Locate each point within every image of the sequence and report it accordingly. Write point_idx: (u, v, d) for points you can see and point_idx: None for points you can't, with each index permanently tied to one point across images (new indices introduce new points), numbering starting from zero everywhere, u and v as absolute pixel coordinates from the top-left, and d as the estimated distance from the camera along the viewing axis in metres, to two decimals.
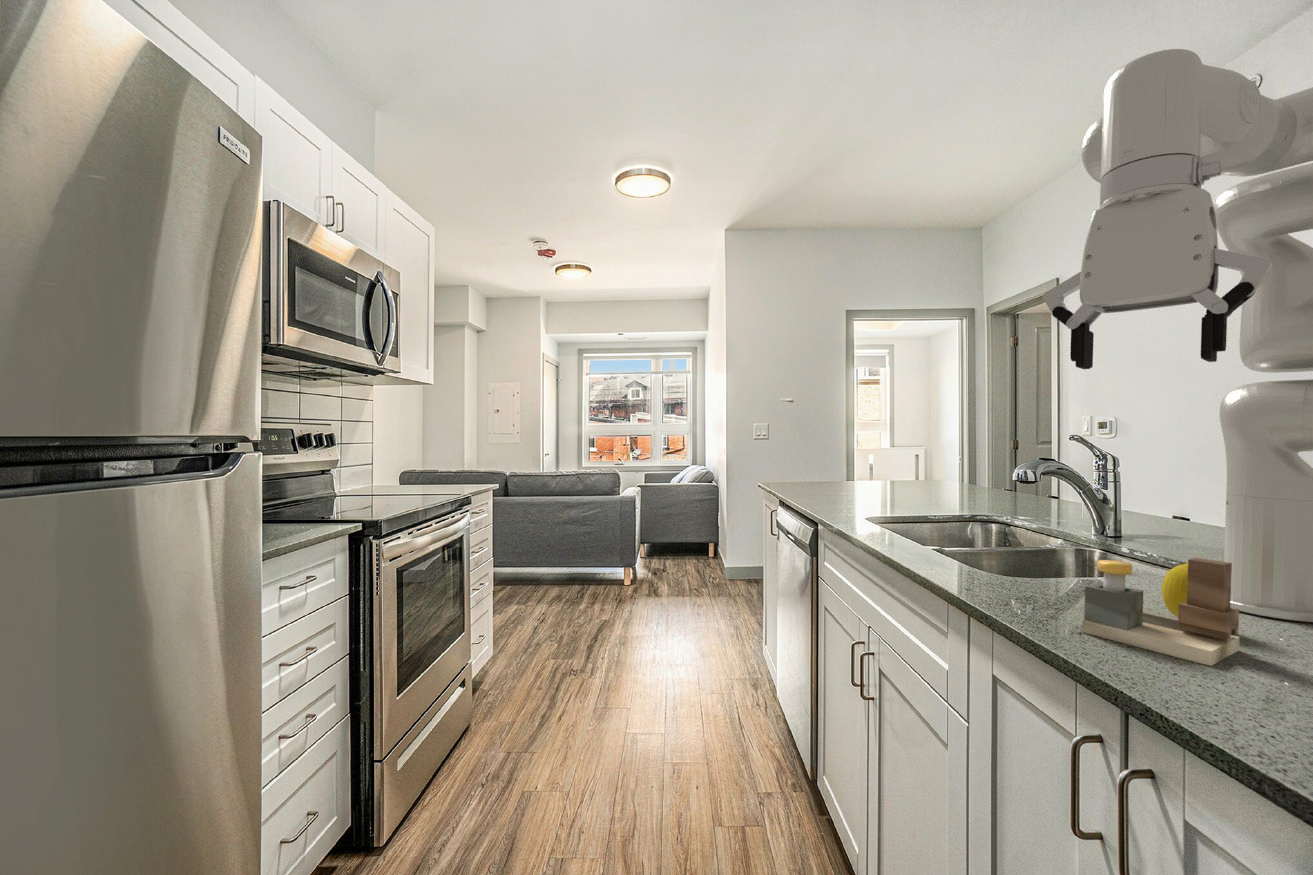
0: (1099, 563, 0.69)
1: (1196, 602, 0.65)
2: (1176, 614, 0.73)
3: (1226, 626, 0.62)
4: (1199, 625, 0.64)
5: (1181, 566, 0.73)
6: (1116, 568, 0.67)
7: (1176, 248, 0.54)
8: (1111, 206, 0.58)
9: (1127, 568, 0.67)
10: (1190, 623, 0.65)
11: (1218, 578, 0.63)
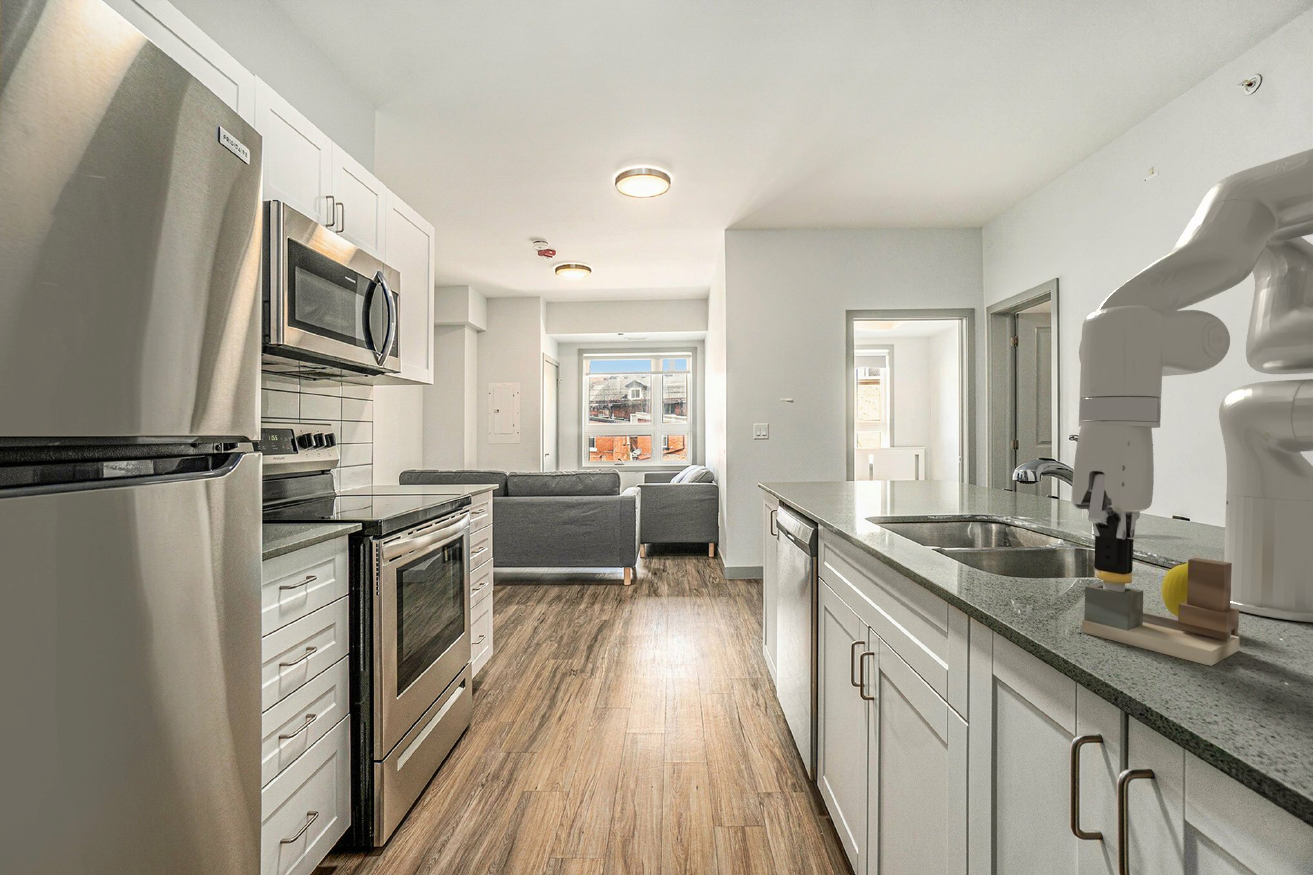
0: (1099, 571, 0.69)
1: (1196, 602, 0.65)
2: (1176, 614, 0.73)
3: (1226, 626, 0.62)
4: (1199, 625, 0.64)
5: (1181, 566, 0.73)
6: (1116, 576, 0.67)
7: (1149, 474, 0.68)
8: (1134, 426, 0.65)
9: (1127, 576, 0.67)
10: (1190, 623, 0.65)
11: (1218, 578, 0.63)
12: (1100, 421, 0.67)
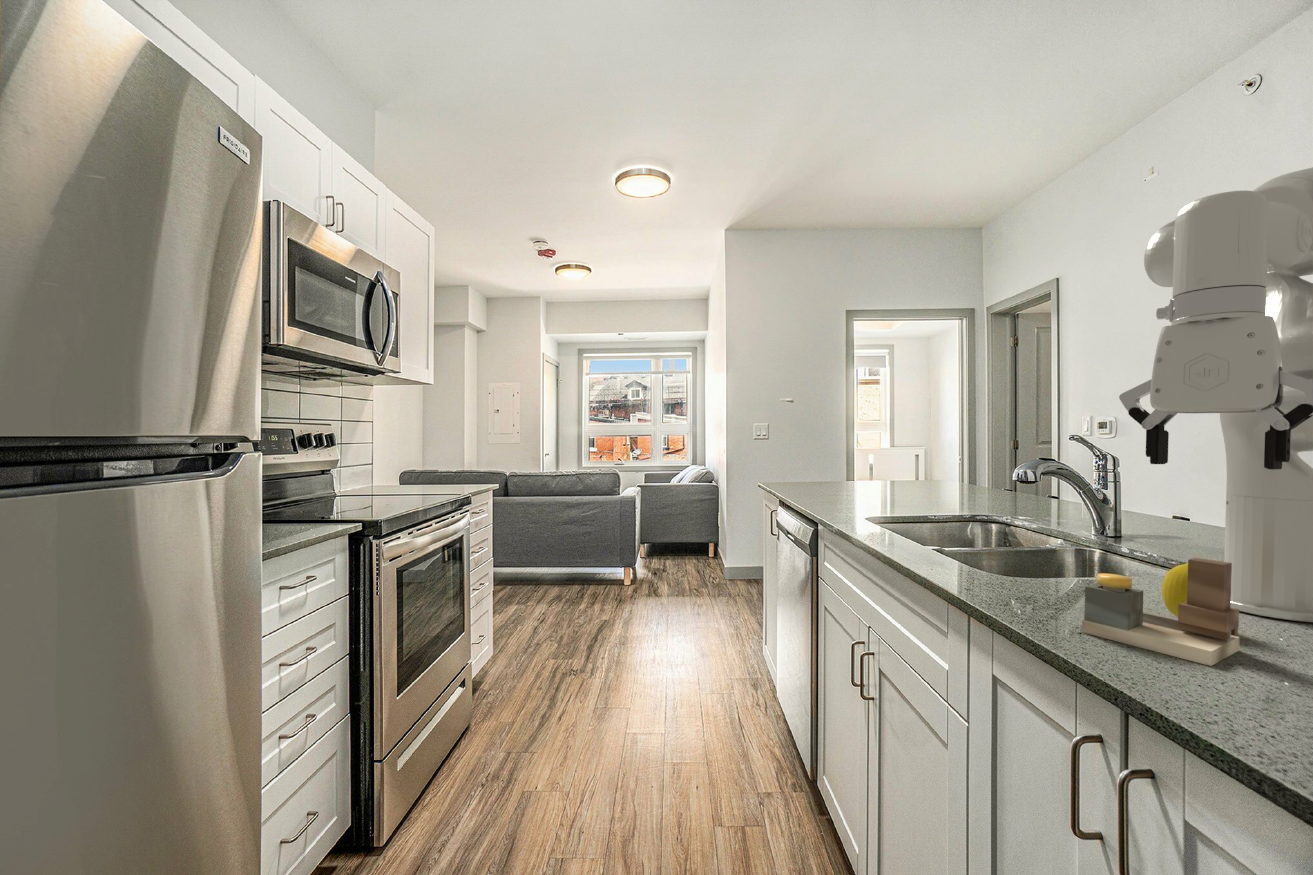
0: (1099, 577, 0.69)
1: (1196, 602, 0.65)
2: (1176, 614, 0.73)
3: (1226, 626, 0.62)
4: (1199, 625, 0.64)
5: (1181, 566, 0.73)
6: (1116, 582, 0.67)
7: None
8: None
9: (1127, 581, 0.67)
10: (1190, 623, 0.65)
11: (1218, 578, 0.63)
12: (1262, 313, 0.61)
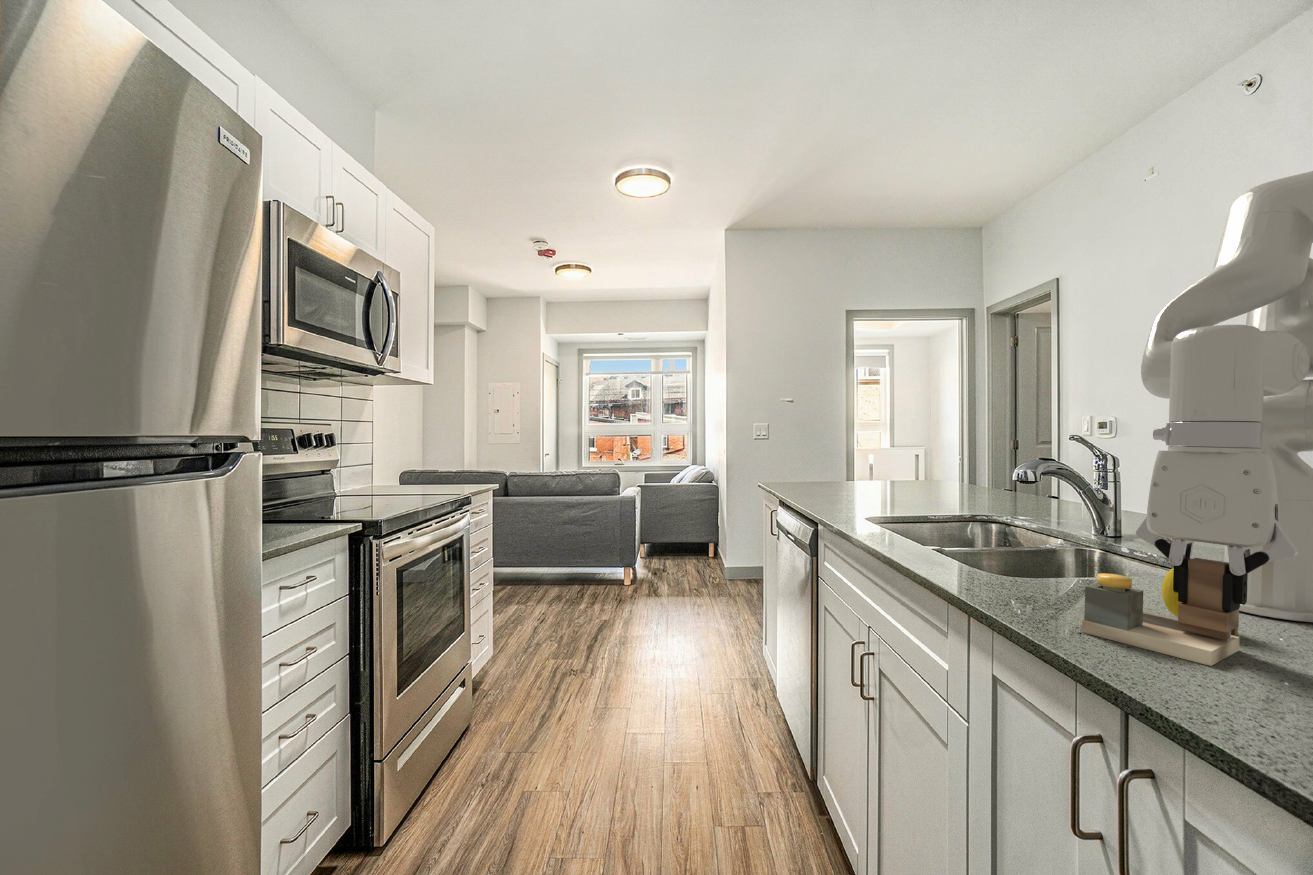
0: (1099, 577, 0.69)
1: (1196, 602, 0.65)
2: (1176, 614, 0.73)
3: (1226, 626, 0.62)
4: (1199, 625, 0.64)
5: None
6: (1116, 582, 0.67)
7: None
8: None
9: (1127, 581, 0.67)
10: (1190, 623, 0.65)
11: (1218, 578, 0.63)
12: (1258, 448, 0.62)
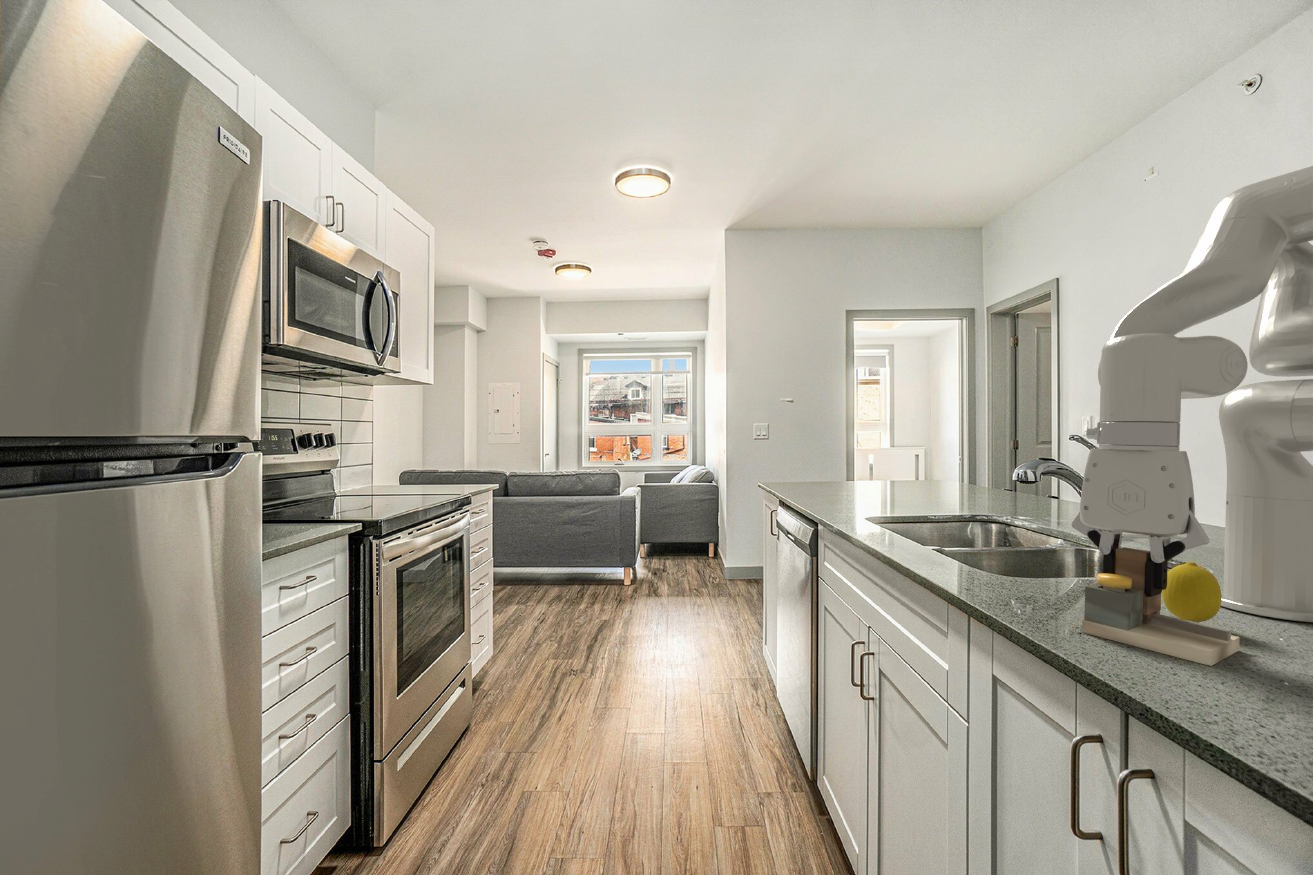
0: (1099, 577, 0.69)
1: None
2: (1176, 614, 0.73)
3: (1147, 609, 0.68)
4: None
5: (1181, 566, 0.73)
6: (1116, 582, 0.67)
7: None
8: None
9: (1127, 581, 0.67)
10: None
11: (1141, 565, 0.69)
12: (1176, 447, 0.67)
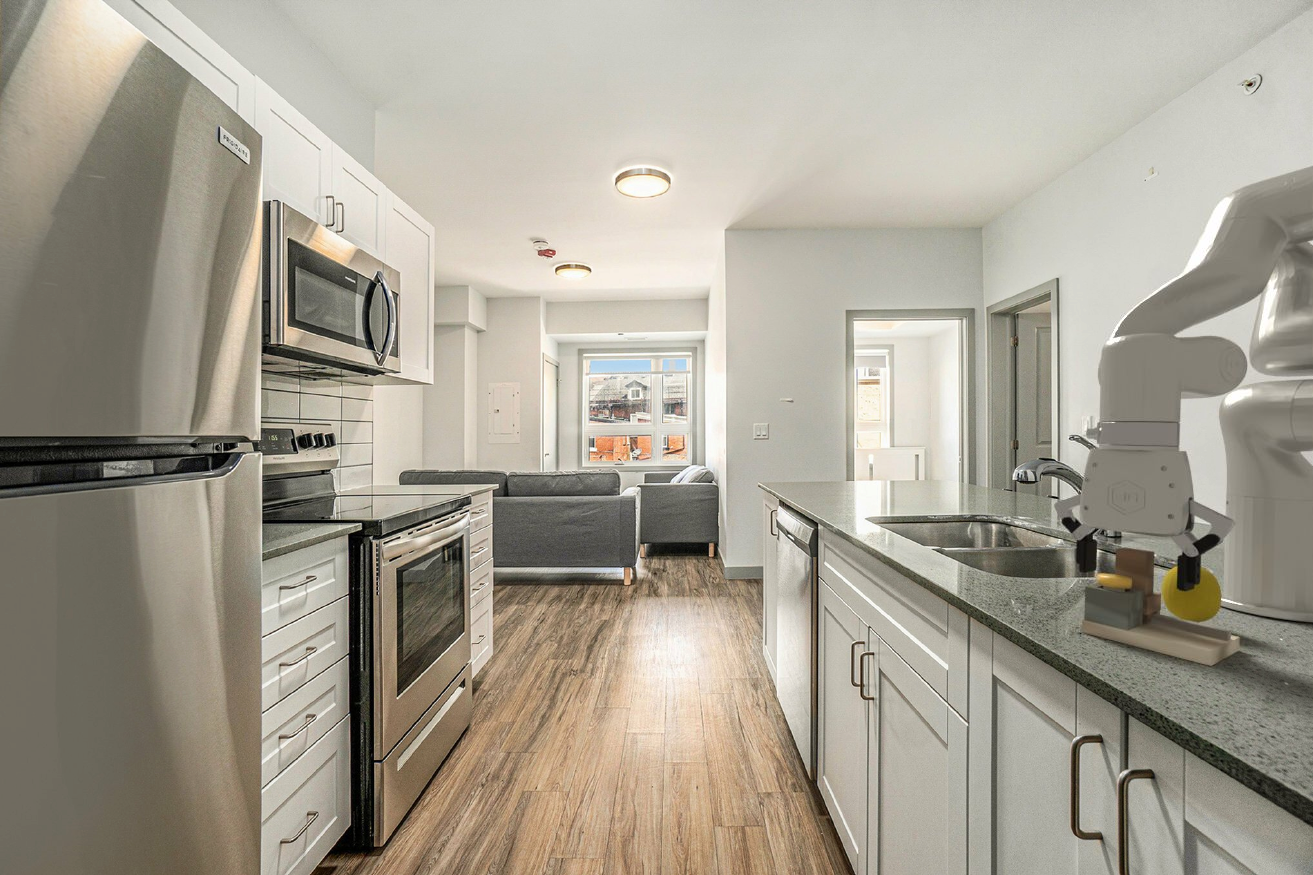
0: (1099, 577, 0.69)
1: None
2: (1176, 614, 0.73)
3: (1147, 609, 0.68)
4: None
5: None
6: (1116, 582, 0.67)
7: None
8: None
9: (1127, 581, 0.67)
10: None
11: (1141, 565, 0.69)
12: (1175, 446, 0.67)
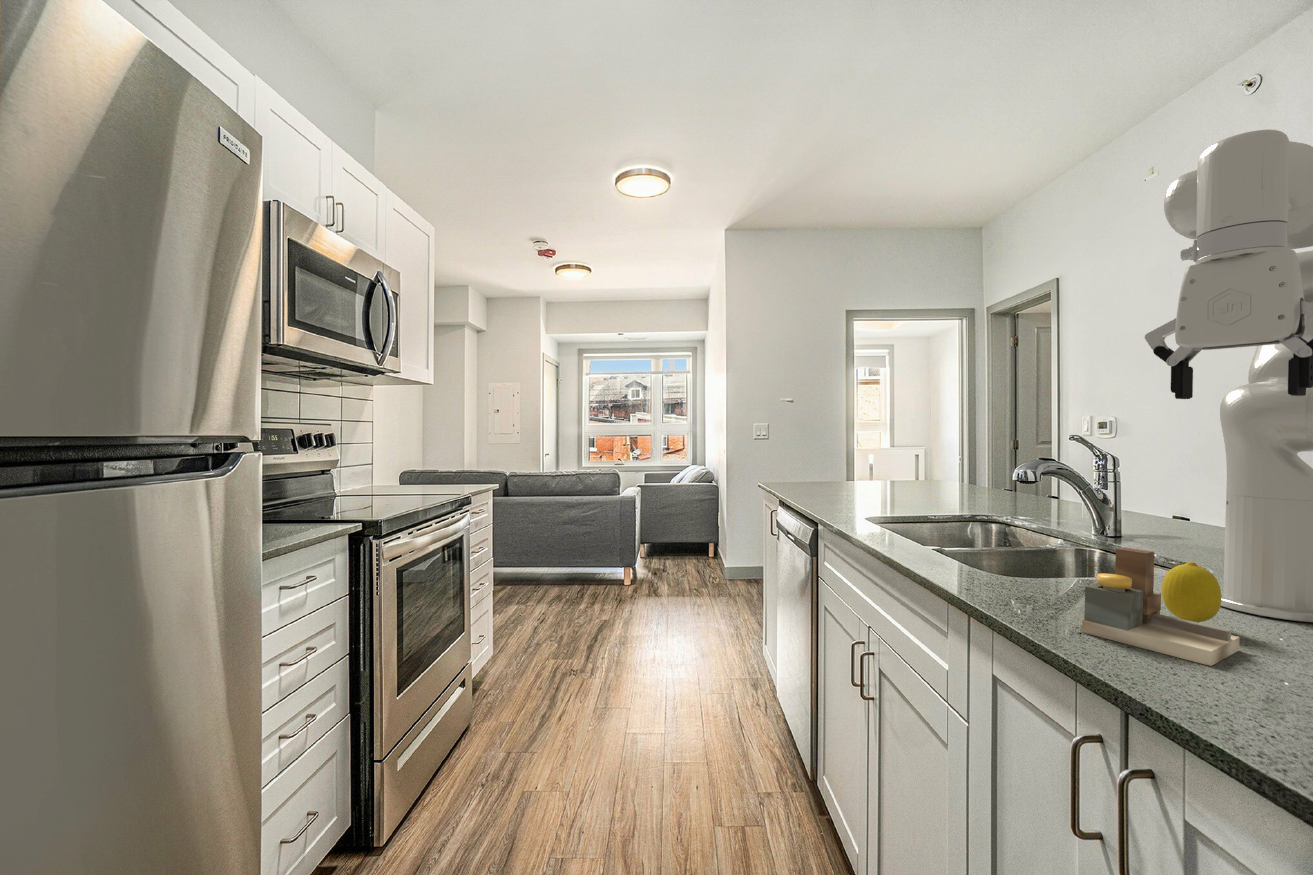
0: (1099, 577, 0.69)
1: None
2: (1176, 614, 0.73)
3: (1147, 609, 0.68)
4: None
5: (1181, 566, 0.73)
6: (1116, 582, 0.67)
7: None
8: None
9: (1127, 581, 0.67)
10: None
11: (1141, 565, 0.69)
12: (1284, 247, 0.64)
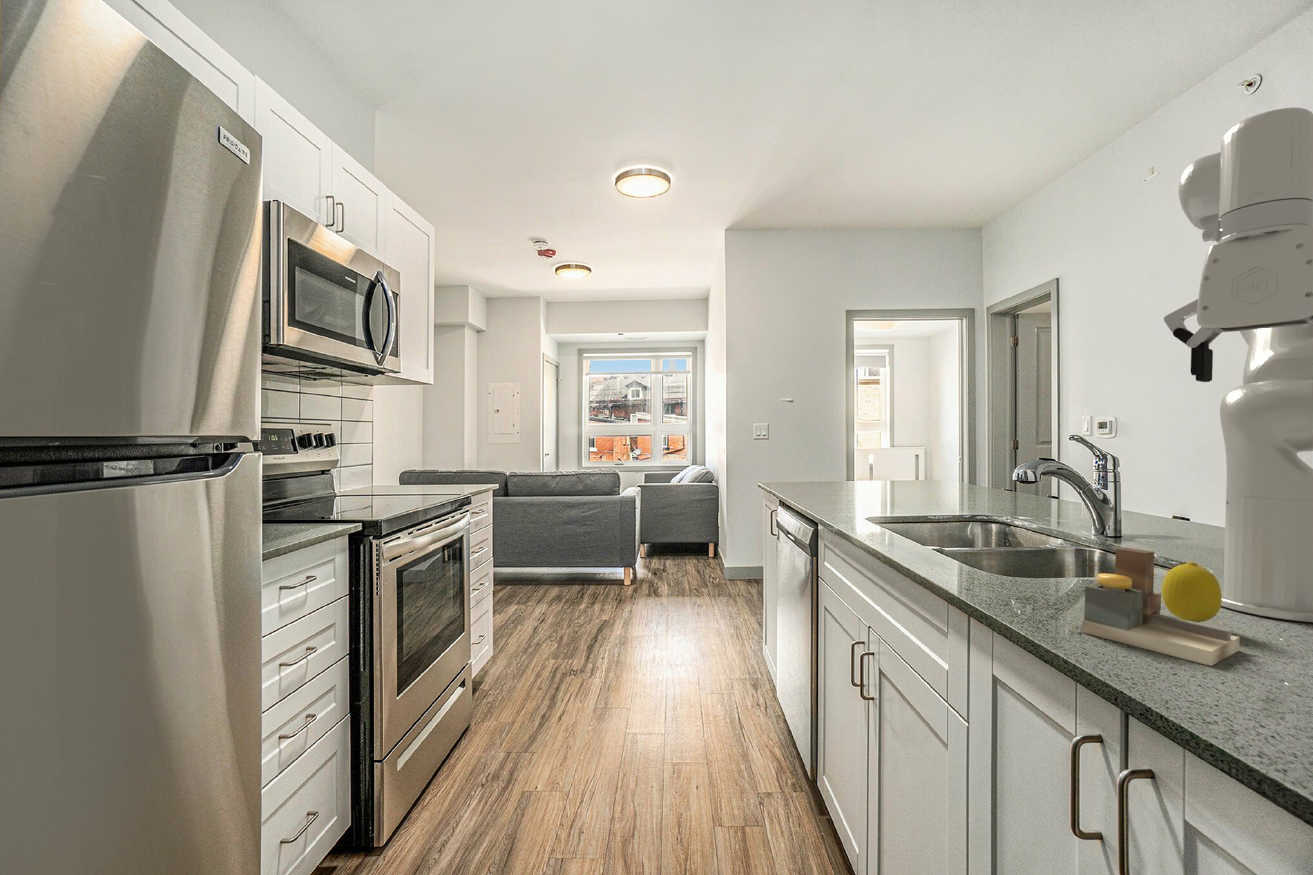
0: (1099, 577, 0.69)
1: None
2: (1176, 614, 0.73)
3: (1147, 609, 0.68)
4: None
5: (1181, 566, 0.73)
6: (1116, 582, 0.67)
7: None
8: None
9: (1127, 581, 0.67)
10: None
11: (1141, 565, 0.69)
12: (1310, 226, 0.63)
